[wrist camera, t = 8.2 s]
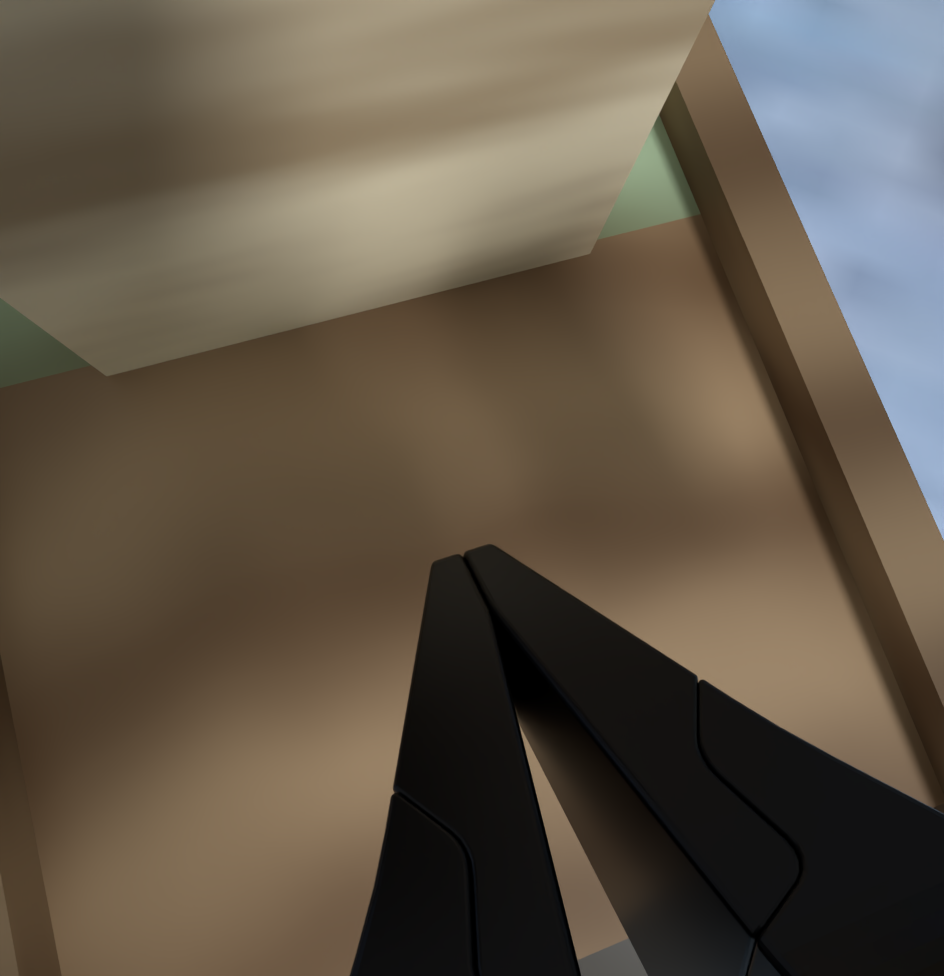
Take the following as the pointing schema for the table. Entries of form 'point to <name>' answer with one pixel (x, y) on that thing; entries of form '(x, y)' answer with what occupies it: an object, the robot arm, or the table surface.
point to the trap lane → (424, 539)
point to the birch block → (307, 155)
